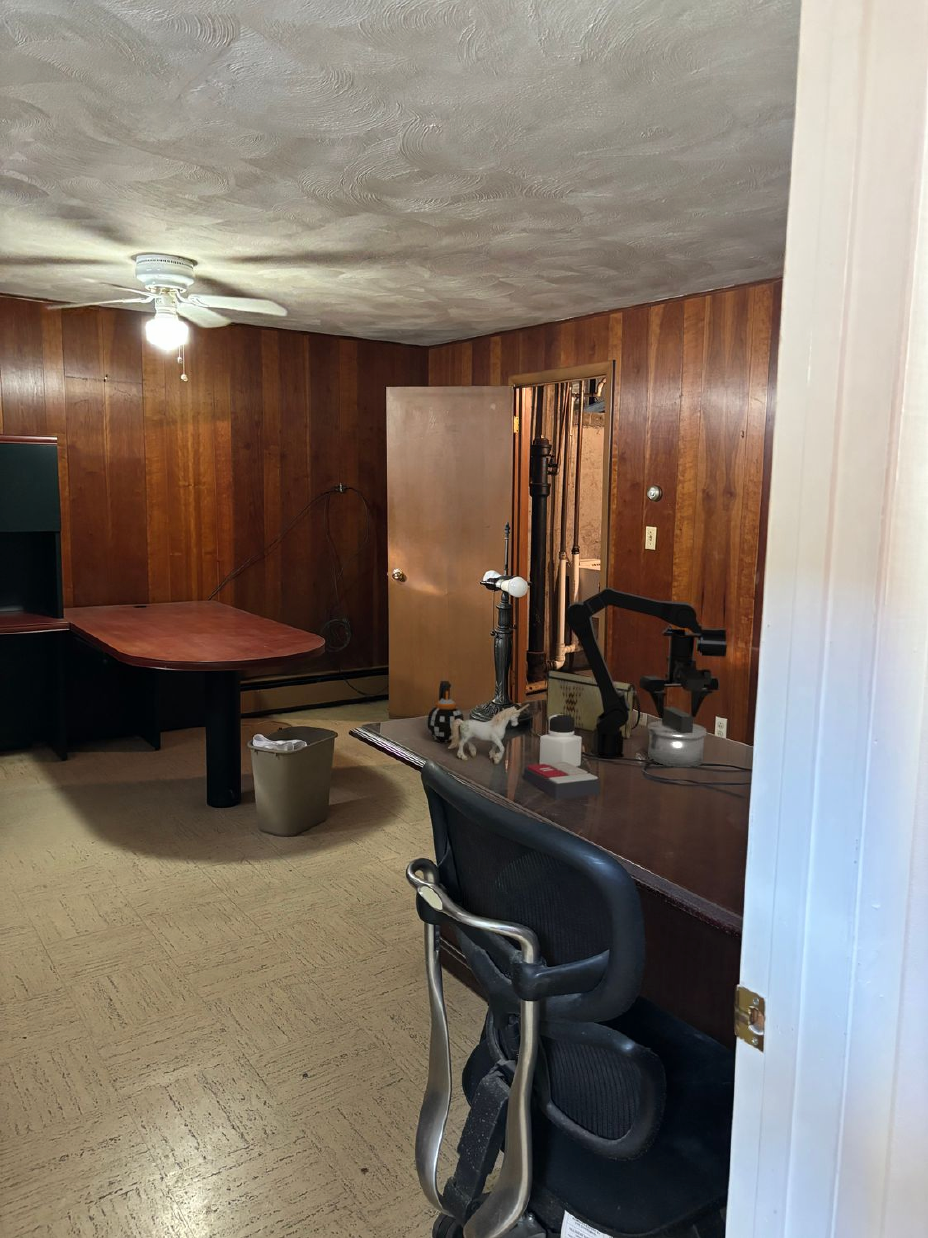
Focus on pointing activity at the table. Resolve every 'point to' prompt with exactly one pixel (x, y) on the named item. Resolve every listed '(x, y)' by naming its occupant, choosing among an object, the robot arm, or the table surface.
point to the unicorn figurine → (483, 732)
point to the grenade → (443, 715)
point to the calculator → (562, 780)
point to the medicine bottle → (560, 742)
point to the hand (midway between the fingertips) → (677, 717)
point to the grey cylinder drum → (676, 751)
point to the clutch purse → (583, 700)
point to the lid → (676, 725)
